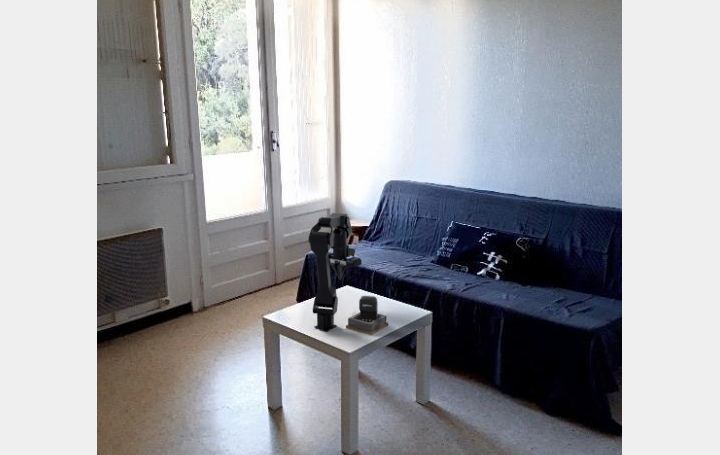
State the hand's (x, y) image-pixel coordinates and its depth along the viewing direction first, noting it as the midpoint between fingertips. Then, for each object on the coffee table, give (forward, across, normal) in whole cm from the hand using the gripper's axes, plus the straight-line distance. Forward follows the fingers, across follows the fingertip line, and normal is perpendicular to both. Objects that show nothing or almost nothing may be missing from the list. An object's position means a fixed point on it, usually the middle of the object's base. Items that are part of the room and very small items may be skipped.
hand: (340, 279), depth 244 cm
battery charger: (+12, -21, +10) cm, 27 cm away
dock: (+13, -21, +10) cm, 27 cm away
